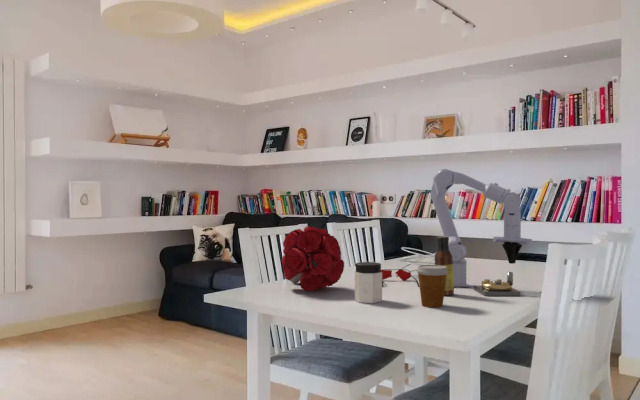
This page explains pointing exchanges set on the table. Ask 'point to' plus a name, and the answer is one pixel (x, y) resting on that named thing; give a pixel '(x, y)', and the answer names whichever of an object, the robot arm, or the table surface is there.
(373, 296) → the jar
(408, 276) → the glasses
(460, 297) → the table surface
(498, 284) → the gold round piece
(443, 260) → the sauce bottle
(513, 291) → the base plate
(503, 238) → the robot arm
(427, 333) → the table surface
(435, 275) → the disposable coffee cup
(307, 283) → the bouquet
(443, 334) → the table surface
